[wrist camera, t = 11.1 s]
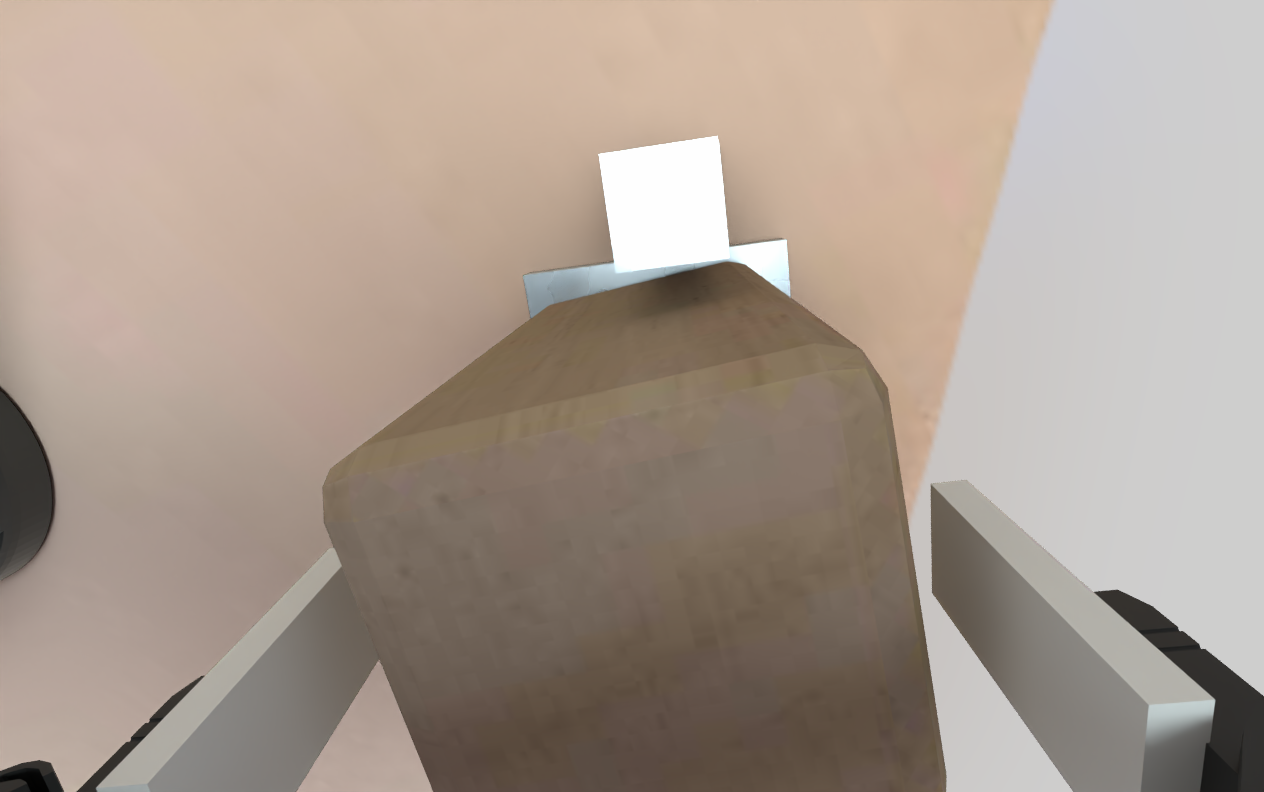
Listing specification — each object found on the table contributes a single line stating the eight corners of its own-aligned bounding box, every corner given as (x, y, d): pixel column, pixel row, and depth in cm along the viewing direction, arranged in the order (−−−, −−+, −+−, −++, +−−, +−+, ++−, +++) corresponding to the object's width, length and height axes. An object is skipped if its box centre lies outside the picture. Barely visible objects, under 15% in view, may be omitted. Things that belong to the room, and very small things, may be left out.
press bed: (451, 585, 36) (321, 805, 23) (359, 198, 31) (116, 187, 17) (804, 554, 34) (888, 773, 21) (773, 135, 29) (859, 69, 15)
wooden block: (788, 461, 31) (974, 864, 12) (588, 502, 32) (463, 927, 13) (747, 254, 29) (900, 340, 9) (532, 307, 30) (276, 479, 11)
